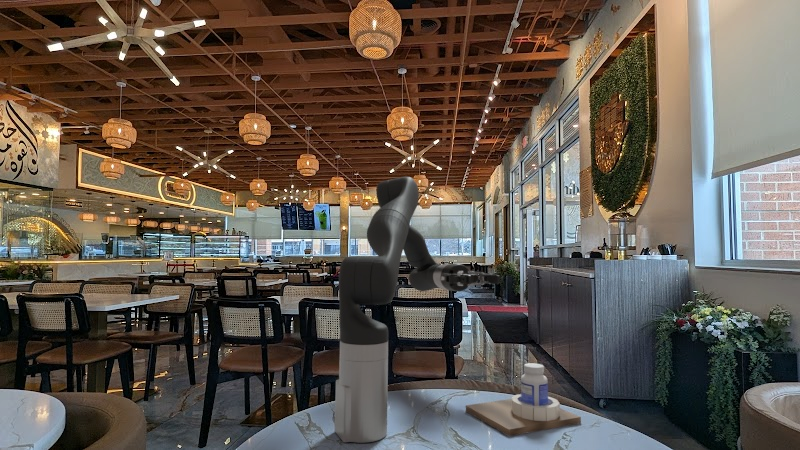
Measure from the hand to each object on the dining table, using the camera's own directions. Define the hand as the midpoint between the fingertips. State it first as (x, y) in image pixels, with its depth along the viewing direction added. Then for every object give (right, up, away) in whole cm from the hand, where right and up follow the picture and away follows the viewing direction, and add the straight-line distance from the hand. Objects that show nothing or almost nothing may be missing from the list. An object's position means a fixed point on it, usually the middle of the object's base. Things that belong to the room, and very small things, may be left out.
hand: (484, 279), depth 112 cm
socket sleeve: (+7, -26, -19) cm, 32 cm away
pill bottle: (+7, -26, -18) cm, 32 cm away
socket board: (+4, -27, -18) cm, 32 cm away
